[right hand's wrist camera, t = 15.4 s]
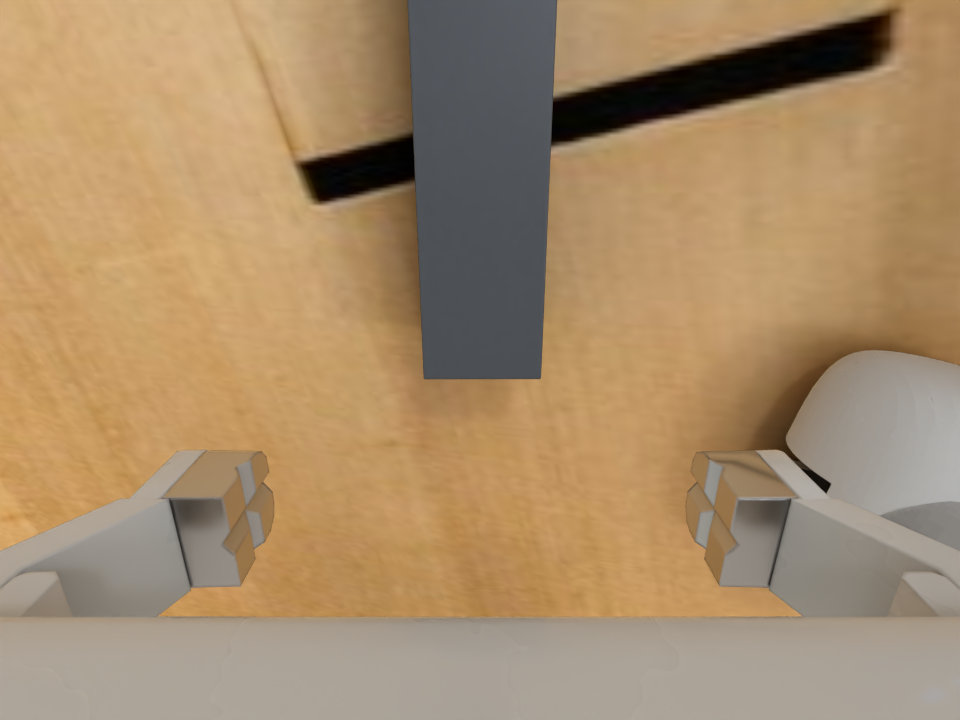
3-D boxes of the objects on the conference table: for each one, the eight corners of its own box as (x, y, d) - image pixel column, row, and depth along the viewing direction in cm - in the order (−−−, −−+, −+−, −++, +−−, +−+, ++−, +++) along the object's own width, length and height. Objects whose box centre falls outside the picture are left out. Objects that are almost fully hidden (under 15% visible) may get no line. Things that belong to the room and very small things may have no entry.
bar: (527, 329, 34) (541, 379, 27) (435, 329, 34) (423, 379, 27) (543, -145, 25) (568, -261, 18) (420, -144, 25) (395, -260, 18)
